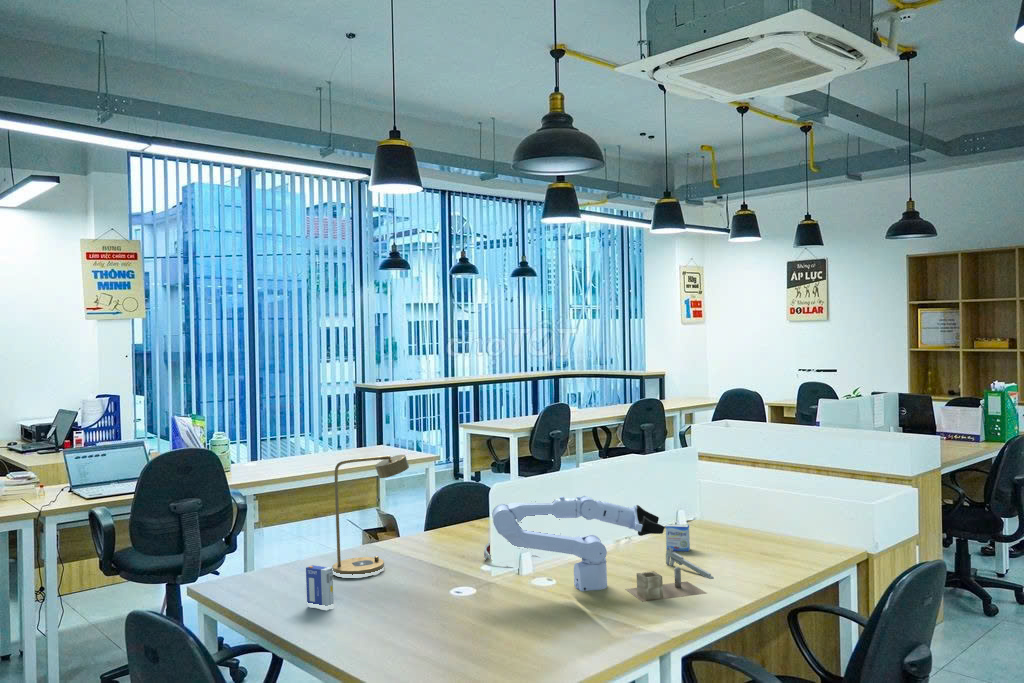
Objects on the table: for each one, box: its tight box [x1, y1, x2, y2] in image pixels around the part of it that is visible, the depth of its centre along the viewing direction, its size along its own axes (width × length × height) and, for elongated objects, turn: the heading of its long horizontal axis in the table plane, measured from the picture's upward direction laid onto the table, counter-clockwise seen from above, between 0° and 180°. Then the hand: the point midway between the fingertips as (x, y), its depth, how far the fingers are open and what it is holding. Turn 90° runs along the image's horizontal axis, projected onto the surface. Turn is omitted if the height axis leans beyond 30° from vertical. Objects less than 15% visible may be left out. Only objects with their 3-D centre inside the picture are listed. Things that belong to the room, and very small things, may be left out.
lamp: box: [331, 454, 410, 575], centre depth 262 cm, size 17×27×38 cm, turn 113°
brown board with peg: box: [625, 566, 707, 603], centre depth 222 cm, size 20×12×7 cm, turn 105°
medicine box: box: [665, 523, 691, 552], centre depth 272 cm, size 8×4×9 cm, turn 73°
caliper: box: [665, 547, 715, 579], centre depth 246 cm, size 20×1×6 cm, turn 31°
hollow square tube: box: [636, 570, 663, 600], centre depth 218 cm, size 5×5×6 cm
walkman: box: [305, 564, 335, 606], centre depth 223 cm, size 8×3×12 cm, turn 60°
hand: (660, 525), depth 230 cm, fingers open, 7 cm apart
